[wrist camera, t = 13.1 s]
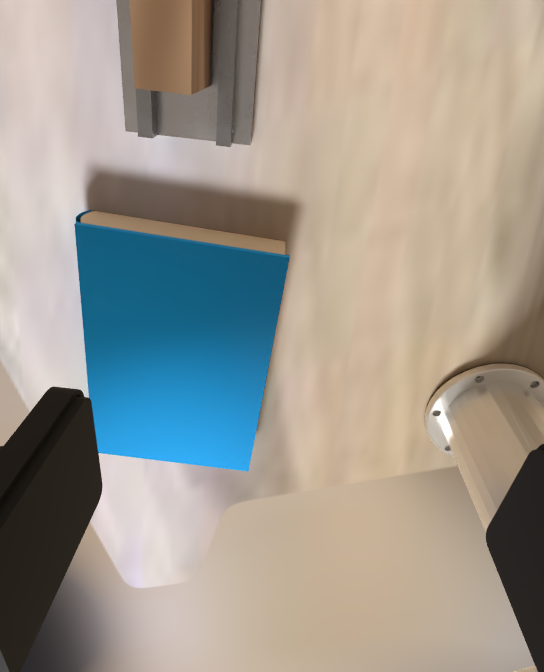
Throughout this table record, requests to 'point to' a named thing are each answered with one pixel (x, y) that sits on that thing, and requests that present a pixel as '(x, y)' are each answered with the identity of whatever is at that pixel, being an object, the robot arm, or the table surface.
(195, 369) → the book
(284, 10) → the table surface
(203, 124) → the floor track
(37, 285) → the table surface
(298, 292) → the table surface
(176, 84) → the door panel
